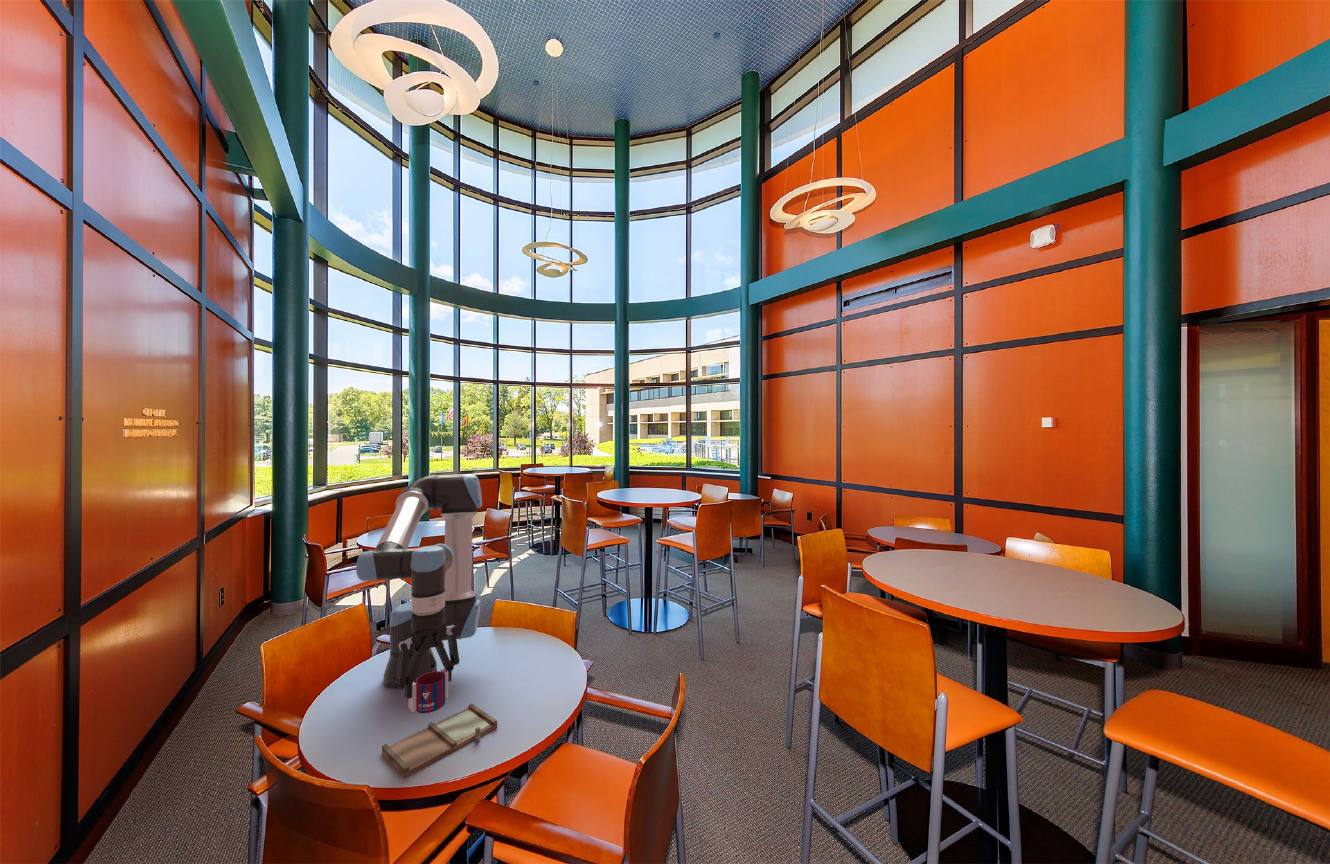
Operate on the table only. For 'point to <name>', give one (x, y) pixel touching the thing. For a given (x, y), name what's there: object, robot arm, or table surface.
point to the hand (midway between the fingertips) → (428, 702)
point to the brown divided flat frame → (438, 740)
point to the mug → (430, 692)
